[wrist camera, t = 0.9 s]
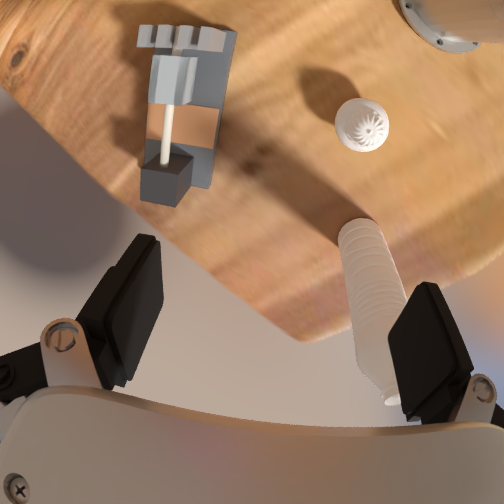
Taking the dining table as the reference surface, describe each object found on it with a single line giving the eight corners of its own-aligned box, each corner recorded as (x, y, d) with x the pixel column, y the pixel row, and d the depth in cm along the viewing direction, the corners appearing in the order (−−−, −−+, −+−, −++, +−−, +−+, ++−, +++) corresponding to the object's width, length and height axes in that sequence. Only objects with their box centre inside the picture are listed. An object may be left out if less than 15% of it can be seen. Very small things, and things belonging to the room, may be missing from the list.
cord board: (163, 27, 27) (132, 22, 21) (237, 32, 28) (222, 25, 21) (148, 172, 39) (121, 198, 33) (210, 184, 39) (193, 213, 33)
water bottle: (327, 238, 42) (344, 406, 22) (360, 208, 39) (410, 373, 19) (367, 270, 44) (398, 425, 24) (399, 243, 41) (453, 398, 21)
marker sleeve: (166, 54, 26) (153, 54, 23) (198, 57, 26) (188, 57, 23) (160, 97, 29) (147, 102, 26) (191, 101, 29) (181, 106, 26)
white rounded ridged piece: (390, 124, 32) (409, 140, 26) (351, 152, 35) (363, 173, 29) (359, 84, 29) (374, 90, 24) (319, 114, 32) (326, 126, 27)
